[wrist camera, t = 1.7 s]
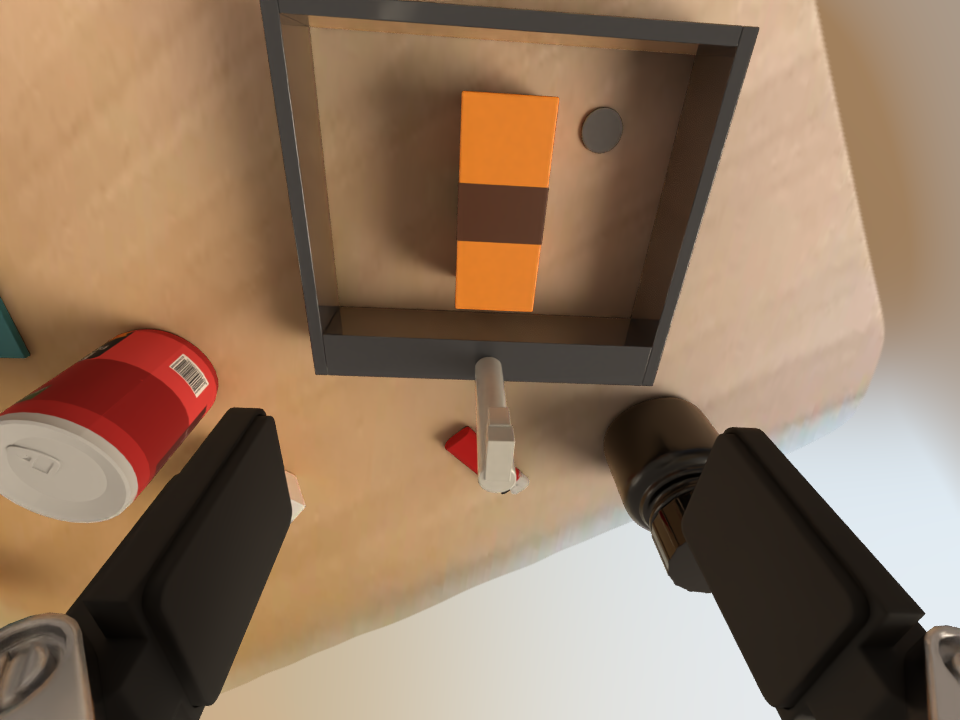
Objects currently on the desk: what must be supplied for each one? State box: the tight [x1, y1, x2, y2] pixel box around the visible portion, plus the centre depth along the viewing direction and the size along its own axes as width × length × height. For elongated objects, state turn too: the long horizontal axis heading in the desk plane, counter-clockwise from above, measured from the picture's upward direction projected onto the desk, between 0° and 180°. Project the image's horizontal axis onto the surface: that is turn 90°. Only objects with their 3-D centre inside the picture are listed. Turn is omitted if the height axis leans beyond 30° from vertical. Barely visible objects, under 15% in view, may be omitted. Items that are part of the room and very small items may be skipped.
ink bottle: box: [604, 397, 719, 593], centre depth 33 cm, size 10×9×12 cm
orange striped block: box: [455, 91, 559, 312], centre depth 26 cm, size 11×5×5 cm, turn 177°
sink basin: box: [259, 0, 759, 493], centre depth 23 cm, size 20×23×15 cm
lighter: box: [445, 426, 529, 494], centre depth 39 cm, size 3×1×8 cm
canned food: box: [0, 329, 218, 523], centre depth 29 cm, size 8×8×11 cm
